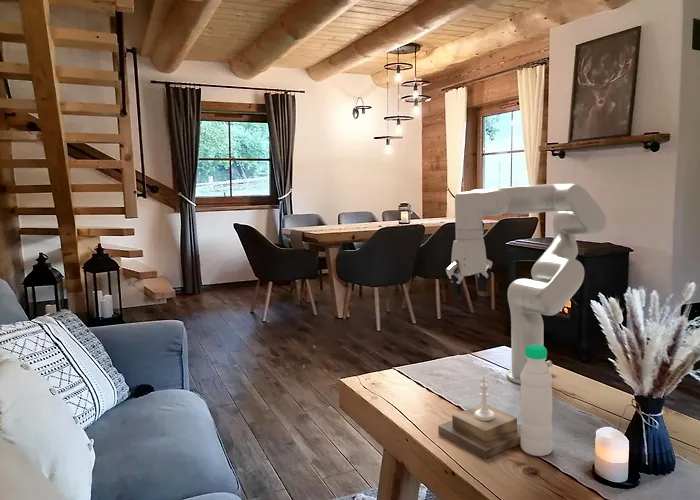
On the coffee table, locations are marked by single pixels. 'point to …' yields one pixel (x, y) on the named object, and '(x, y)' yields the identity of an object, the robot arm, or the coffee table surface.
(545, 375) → the water bottle
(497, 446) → the plinth
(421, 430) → the coffee table surface
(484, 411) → the chess piece
